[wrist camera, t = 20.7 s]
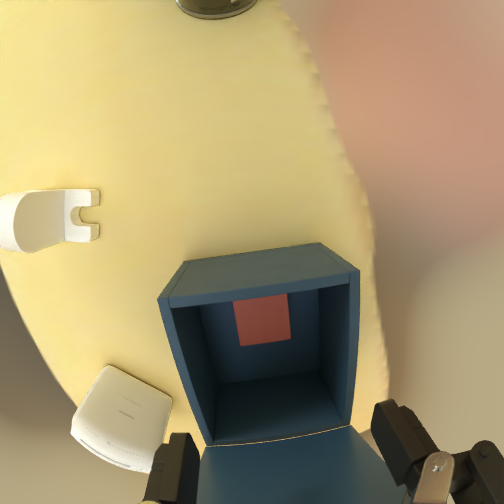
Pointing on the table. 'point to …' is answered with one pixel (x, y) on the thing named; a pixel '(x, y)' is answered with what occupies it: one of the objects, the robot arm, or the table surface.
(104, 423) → the photo printer
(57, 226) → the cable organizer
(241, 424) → the box
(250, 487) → the freezer lid
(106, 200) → the table surface
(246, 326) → the block
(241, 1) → the robot arm
